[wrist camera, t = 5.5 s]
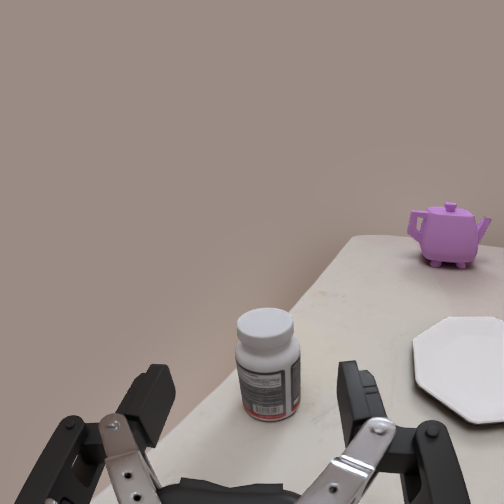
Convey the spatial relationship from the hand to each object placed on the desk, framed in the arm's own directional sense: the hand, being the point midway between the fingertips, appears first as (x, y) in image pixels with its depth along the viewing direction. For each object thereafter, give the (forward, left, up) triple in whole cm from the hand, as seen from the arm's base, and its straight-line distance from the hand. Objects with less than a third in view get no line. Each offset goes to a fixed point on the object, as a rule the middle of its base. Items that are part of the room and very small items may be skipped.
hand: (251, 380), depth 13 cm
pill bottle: (+2, +11, -14) cm, 18 cm away
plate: (+27, +7, -14) cm, 31 cm away
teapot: (+45, +39, -14) cm, 61 cm away
